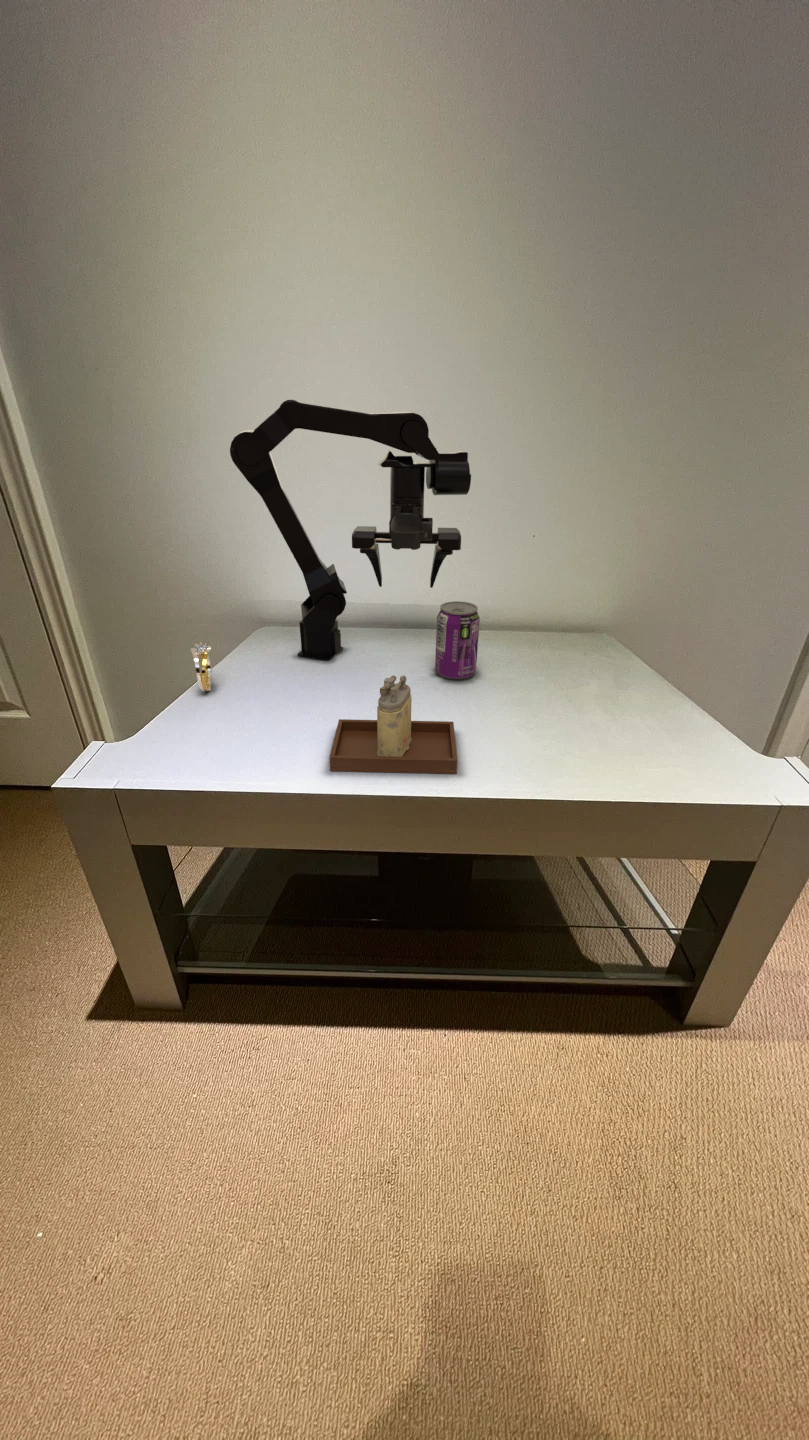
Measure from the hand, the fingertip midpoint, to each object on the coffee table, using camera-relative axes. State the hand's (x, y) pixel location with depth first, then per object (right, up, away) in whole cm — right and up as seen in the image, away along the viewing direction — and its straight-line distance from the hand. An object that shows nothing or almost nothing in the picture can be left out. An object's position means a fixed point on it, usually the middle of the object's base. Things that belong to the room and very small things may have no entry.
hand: (405, 586), depth 108 cm
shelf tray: (-2, -29, -27) cm, 39 cm away
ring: (-32, -20, -11) cm, 39 cm away
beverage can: (+9, -16, -4) cm, 19 cm away
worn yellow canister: (-1, -28, -27) cm, 39 cm away
